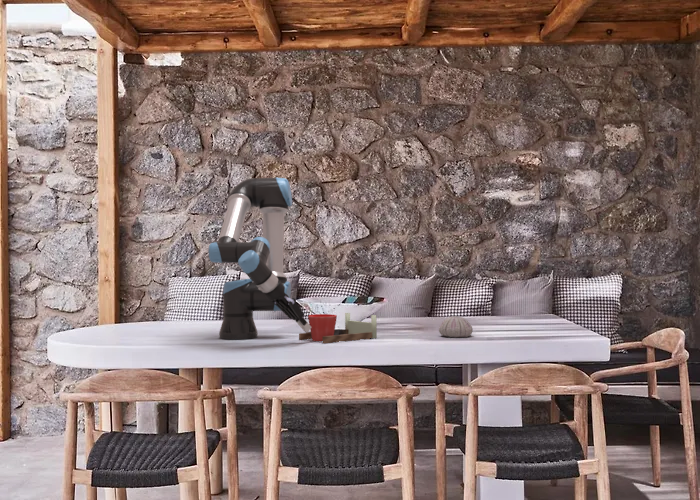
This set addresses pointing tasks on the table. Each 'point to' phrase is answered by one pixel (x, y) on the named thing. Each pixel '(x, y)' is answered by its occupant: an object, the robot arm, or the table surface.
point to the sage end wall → (361, 326)
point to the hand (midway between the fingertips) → (308, 329)
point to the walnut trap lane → (338, 336)
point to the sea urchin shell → (455, 327)
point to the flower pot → (322, 325)
